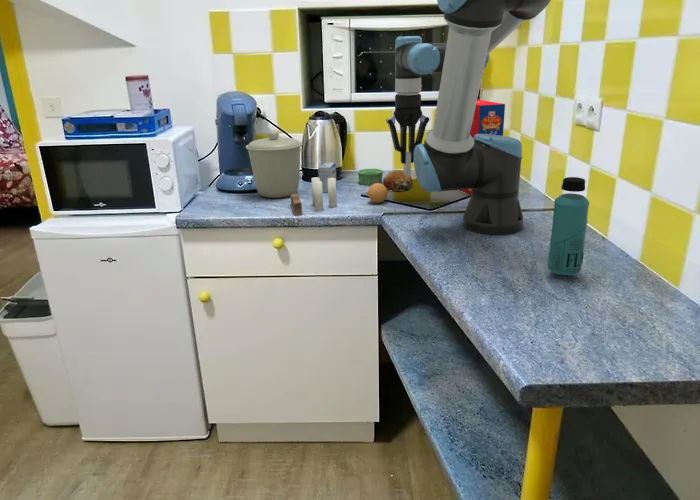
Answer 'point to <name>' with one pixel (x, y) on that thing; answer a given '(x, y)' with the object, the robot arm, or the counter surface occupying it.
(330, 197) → the pin front
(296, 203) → the back rail
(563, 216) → the beverage bottle
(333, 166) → the medicine box
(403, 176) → the bread roll
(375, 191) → the ball
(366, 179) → the ramekin
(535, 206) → the counter surface
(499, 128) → the pasta box
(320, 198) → the pin
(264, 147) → the canister
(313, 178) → the pin
